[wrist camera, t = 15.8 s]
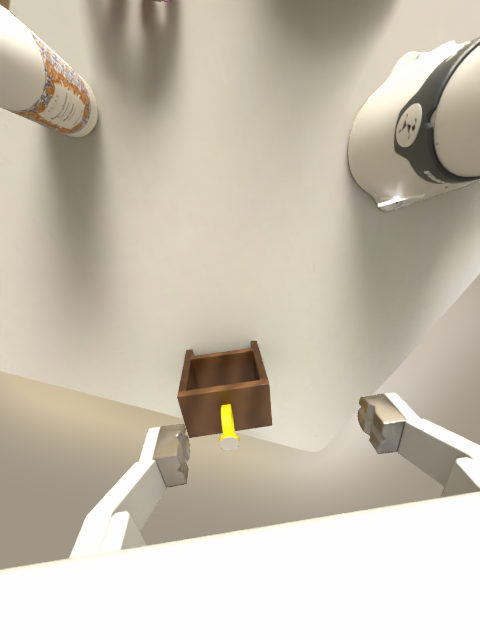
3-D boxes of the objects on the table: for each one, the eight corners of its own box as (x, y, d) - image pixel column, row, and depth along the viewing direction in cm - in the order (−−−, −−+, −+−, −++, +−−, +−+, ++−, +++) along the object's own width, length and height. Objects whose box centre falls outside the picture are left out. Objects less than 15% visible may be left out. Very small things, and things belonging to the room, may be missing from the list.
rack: (256, 340, 49) (269, 383, 38) (259, 376, 53) (272, 425, 42) (186, 350, 49) (177, 397, 37) (194, 385, 53) (189, 438, 41)
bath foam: (81, 151, 34) (-71, 96, 16) (29, 103, 31) (-220, -25, 13) (110, 106, 32) (-23, -11, 14) (58, 52, 30) (-183, -173, 12)
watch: (238, 424, 41) (241, 457, 35) (221, 426, 41) (222, 460, 35) (234, 396, 38) (237, 428, 33) (216, 399, 38) (216, 431, 33)
